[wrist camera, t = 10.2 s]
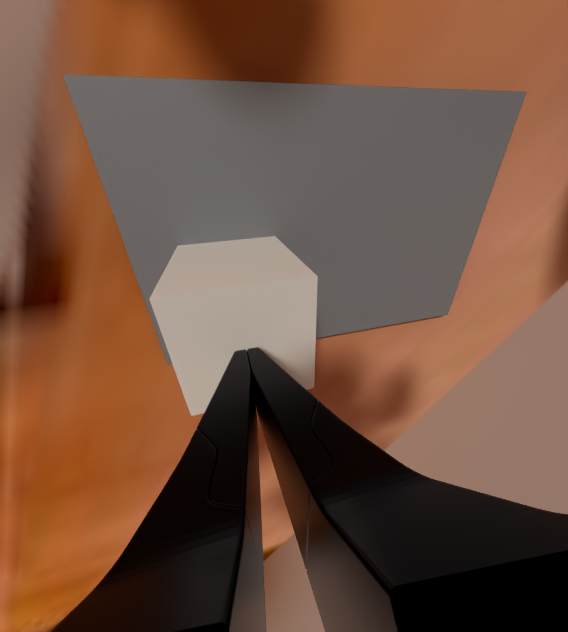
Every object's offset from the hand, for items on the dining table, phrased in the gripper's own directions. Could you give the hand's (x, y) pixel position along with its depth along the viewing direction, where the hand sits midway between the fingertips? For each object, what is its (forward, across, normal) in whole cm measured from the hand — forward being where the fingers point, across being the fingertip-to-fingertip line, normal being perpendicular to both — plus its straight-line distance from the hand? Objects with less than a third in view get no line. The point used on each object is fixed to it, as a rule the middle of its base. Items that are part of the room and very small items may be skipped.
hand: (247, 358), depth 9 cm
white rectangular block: (+7, 0, 0) cm, 7 cm away
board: (+8, -6, -2) cm, 10 cm away
